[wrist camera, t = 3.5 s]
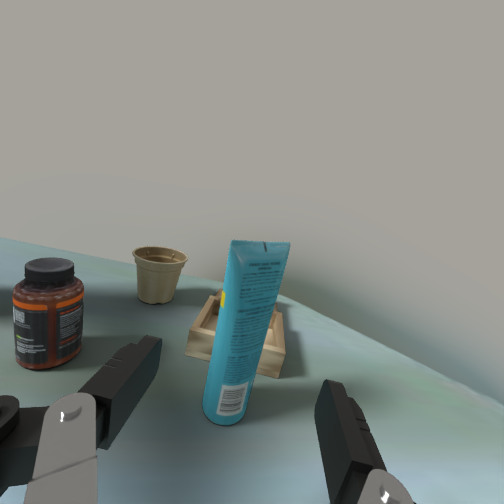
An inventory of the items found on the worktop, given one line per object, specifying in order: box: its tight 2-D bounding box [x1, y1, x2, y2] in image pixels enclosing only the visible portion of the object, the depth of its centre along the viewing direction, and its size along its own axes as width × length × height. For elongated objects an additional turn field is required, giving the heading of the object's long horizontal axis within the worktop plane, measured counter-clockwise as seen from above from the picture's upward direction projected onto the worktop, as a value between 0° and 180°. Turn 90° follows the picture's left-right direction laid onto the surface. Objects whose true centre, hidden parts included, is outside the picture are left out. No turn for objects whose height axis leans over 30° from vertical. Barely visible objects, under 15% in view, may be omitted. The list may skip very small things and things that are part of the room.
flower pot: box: [132, 246, 188, 304], centre depth 44 cm, size 9×9×9 cm
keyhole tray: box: [185, 289, 286, 379], centre depth 42 cm, size 13×21×5 cm, turn 175°
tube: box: [202, 240, 290, 425], centre depth 24 cm, size 7×5×19 cm, turn 136°
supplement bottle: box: [13, 258, 84, 369], centre depth 27 cm, size 6×6×11 cm
